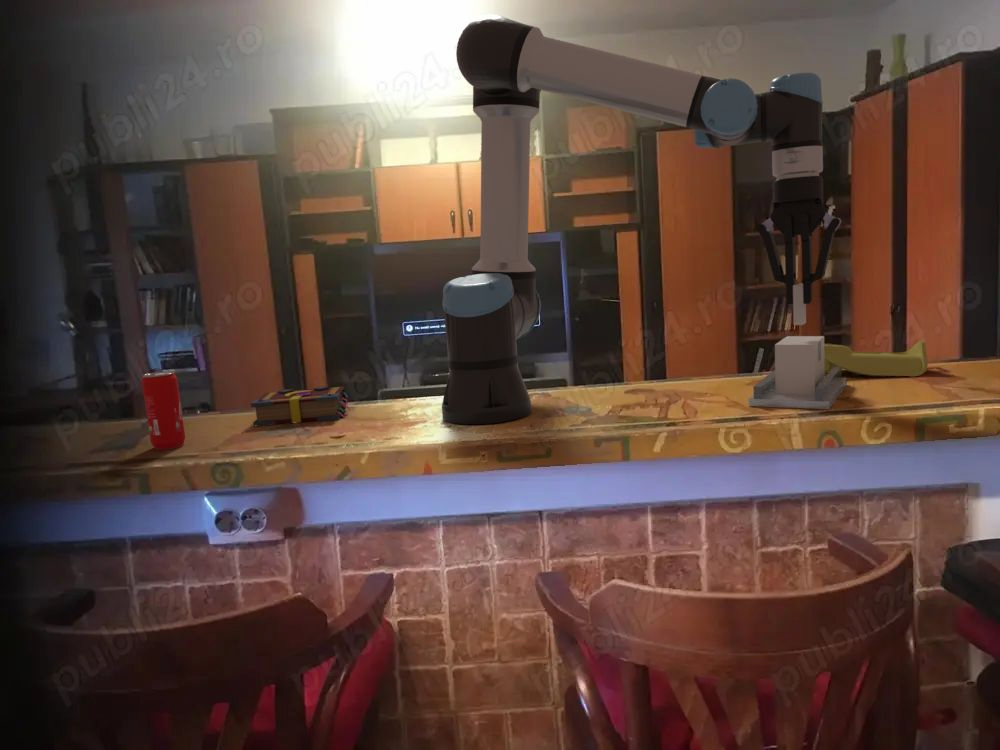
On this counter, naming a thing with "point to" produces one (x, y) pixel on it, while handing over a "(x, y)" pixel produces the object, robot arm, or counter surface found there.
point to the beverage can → (163, 410)
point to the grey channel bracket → (821, 400)
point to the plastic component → (877, 361)
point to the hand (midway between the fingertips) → (799, 323)
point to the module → (799, 364)
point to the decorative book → (300, 405)
